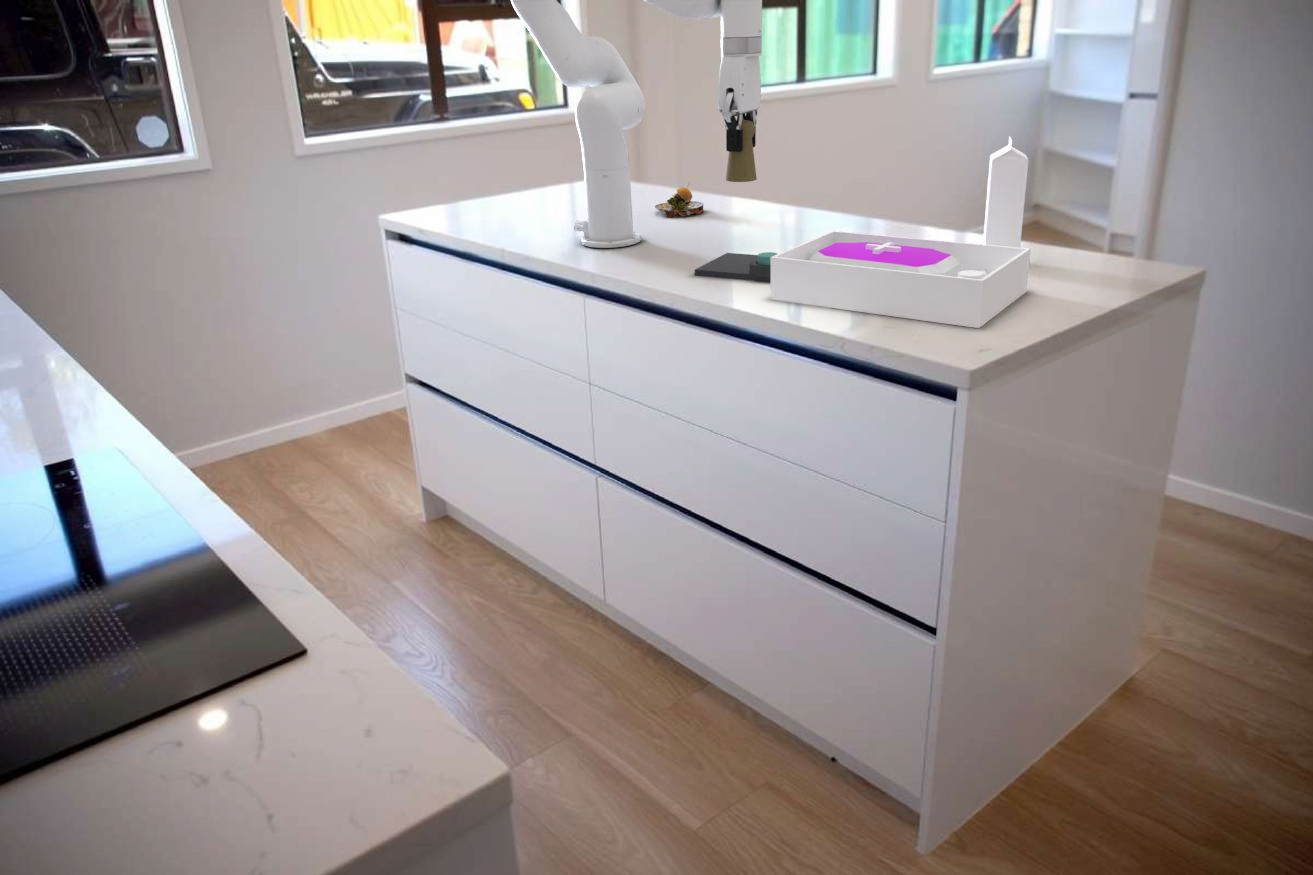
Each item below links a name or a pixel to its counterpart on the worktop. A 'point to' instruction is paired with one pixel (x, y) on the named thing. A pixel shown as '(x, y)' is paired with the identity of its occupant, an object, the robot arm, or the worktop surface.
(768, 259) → the button
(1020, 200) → the milk
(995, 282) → the white tray with pad
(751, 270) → the scale
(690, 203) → the multicoloured piece
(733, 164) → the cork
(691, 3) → the robot arm
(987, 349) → the worktop surface
